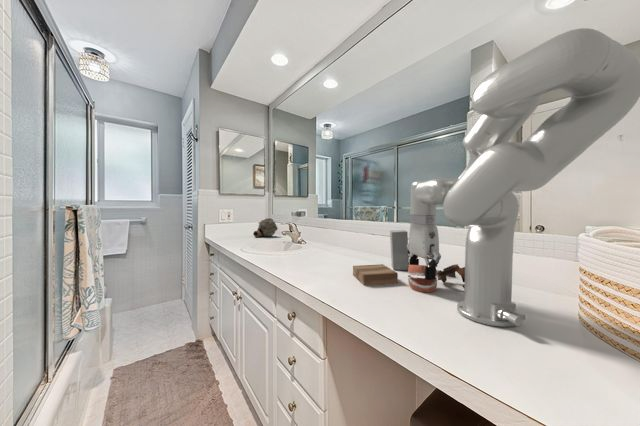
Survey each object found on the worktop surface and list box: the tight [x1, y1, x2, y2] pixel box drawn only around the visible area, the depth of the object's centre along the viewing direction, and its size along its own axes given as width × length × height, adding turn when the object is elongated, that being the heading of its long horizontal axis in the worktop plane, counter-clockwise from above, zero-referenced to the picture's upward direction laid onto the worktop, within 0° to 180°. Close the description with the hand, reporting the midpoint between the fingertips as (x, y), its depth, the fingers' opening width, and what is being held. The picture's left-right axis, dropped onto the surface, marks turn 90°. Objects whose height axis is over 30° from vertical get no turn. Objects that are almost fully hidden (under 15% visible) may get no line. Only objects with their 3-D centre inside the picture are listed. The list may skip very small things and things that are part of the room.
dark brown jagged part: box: [437, 263, 465, 290], centre depth 82 cm, size 12×10×8 cm
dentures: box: [407, 264, 438, 293], centre depth 79 cm, size 9×7×8 cm
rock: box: [253, 217, 279, 238], centre depth 200 cm, size 18×14×15 cm
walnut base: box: [352, 263, 399, 287], centre depth 90 cm, size 12×12×4 cm
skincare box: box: [389, 229, 409, 271], centre depth 104 cm, size 8×7×16 cm
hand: (421, 274), depth 79 cm, fingers closed on dentures, 8 cm apart
